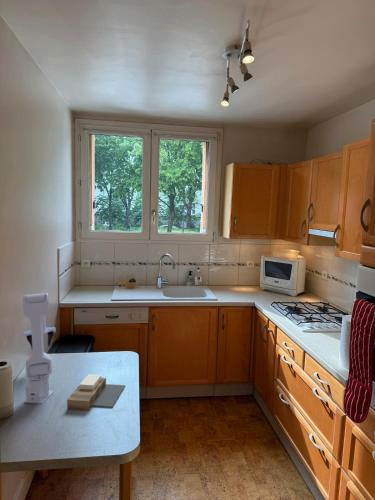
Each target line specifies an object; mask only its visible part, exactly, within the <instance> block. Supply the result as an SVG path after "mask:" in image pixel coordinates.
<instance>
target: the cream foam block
mask: <svg viewBox="0 0 375 500" xmlns="http://www.w3.org/2000/svg"><path fill="white" fill-rule="evenodd" d="M101 378H102V375H101V374H90V373H89V374H87V375H86V377H85V378H83V380H82V381H81V382H80V383H79V385H80V389H89V390H94V389H95V387H96V386H97V385H98V383H99V382H100V381H101Z"/></svg>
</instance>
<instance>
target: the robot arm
mask: <svg viewBox="0 0 375 500" xmlns="http://www.w3.org/2000/svg"><path fill="white" fill-rule="evenodd" d="M49 303H50V300H49V293H48V292H44V293H33V294H31V293H30V294H24V295H23V296H22V307H23V308H22V310H23V315H24V317H26V318H29V323H30V326H31V328H30V330H28V331H23V338H26V340H27V341H28V344H29V345H30V347H31V350H32V354H31V355H30V356H28V357H27V359H26V360H25V361H26V362H25V376H26V378H28V379H29V382H28V383H27V385H26V387H25V397H26V399H25V400H24V403H26V404H27V403H28V404H29V403H30V404H44V402H46V401H47V400H48V398H49V397H51V395H53V394H54V392H55V391H54V390H50V378H49V377H50V375H51V374H52V373H53V372H52V370H53V369H52V368H53V367H52V356H51V355H50V354H48V353H46V351H44V334H47V345H48V346H47V347H50V346H51V343H52V339H53V337H54V334H55V333H56V332H57V330H56V327H55V326H50V327H48V326H47V323H46V321H47V320H46V316H47V315H48V314H49V307H50V306H49V305H50V304H49Z"/></svg>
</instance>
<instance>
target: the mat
mask: <svg viewBox="0 0 375 500" xmlns="http://www.w3.org/2000/svg"><path fill="white" fill-rule="evenodd" d="M125 388H126V385H124V384H109V383H106V386H105V388H104V389H103V390H102V392H101V393H100V395H99V396H98V397H97V399H96V400H95V402H94V403H93V404H92V407H94V408H96V407H97V408H106V409H107V408H110V409H113V407H114V406H115V404H116V402H117V401H118V400H119V397H120V396H121V394H122V393H123V391H124V389H125Z"/></svg>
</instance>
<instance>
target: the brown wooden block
mask: <svg viewBox="0 0 375 500" xmlns="http://www.w3.org/2000/svg"><path fill="white" fill-rule="evenodd" d="M106 385H107V378H106V377H101V381H100V382H99V383H98V385H97V386H96V387H95V389H94V390H89V389H80V384H79V385H78V386H77V387H76V389H75V390H74V391H73V392H72V393H71V395H70V396H69V397H68V398H67V399H66V404H67V405H66V407H67V410H74V411H75V410H76V411H86V412H87V411H89V412H90V410H91V409H92V407H93V406H92V404H93V403H94V402H95V400H96V399H97V397H98V396H99V395H100V393H101V392H102V390H103V389H104V388H105V386H106Z"/></svg>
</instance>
